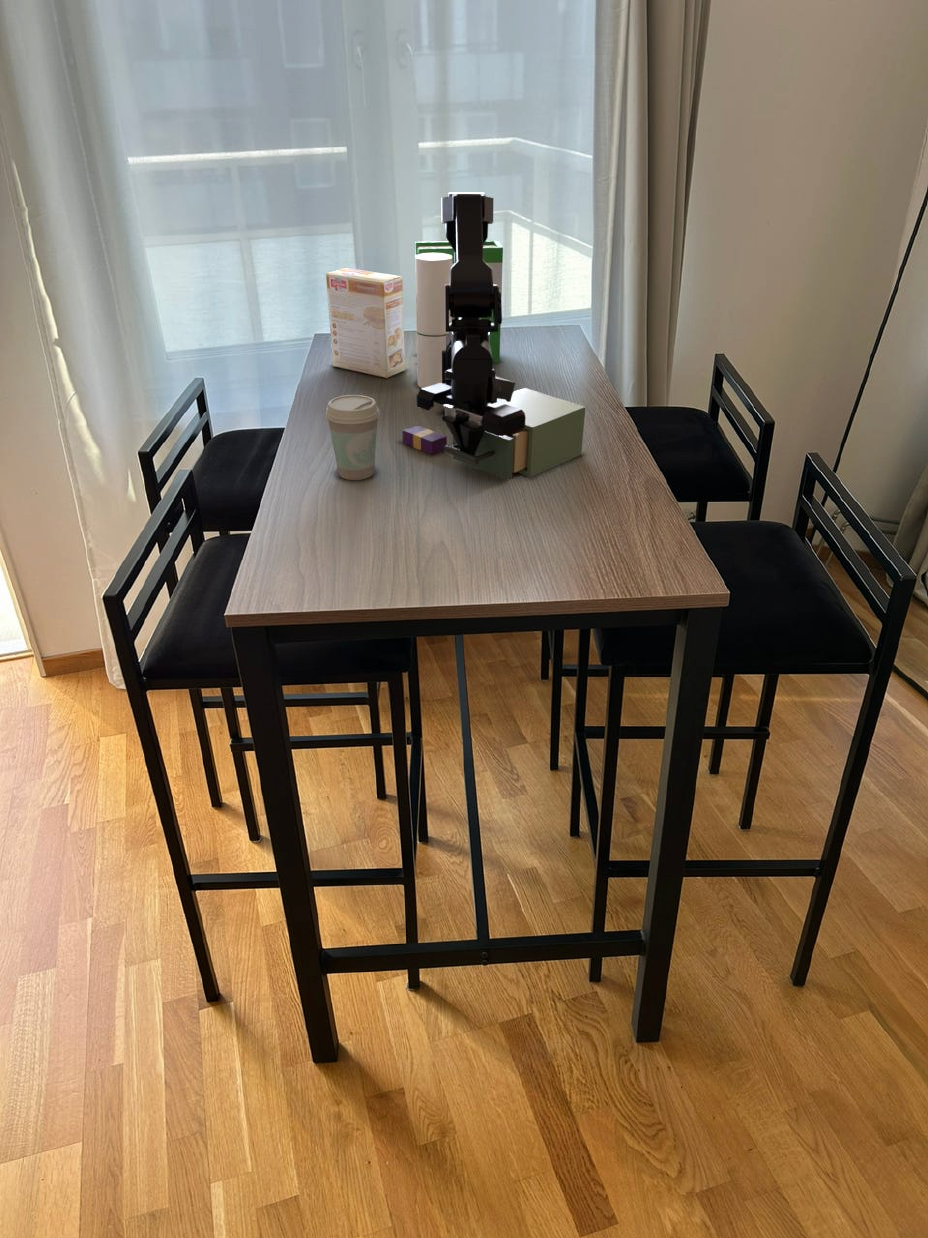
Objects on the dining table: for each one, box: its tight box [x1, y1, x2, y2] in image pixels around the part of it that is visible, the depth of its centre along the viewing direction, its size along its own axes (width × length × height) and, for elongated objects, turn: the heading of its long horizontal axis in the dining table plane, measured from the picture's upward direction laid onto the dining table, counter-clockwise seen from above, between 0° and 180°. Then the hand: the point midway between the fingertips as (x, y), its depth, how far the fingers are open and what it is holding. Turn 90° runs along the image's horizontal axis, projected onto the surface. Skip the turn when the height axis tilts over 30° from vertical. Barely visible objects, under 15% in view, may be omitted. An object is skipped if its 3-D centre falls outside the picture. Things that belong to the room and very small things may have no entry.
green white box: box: [414, 240, 504, 364], centre depth 193 cm, size 18×7×24 cm, turn 98°
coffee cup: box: [325, 394, 381, 481], centre depth 143 cm, size 9×8×12 cm
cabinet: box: [488, 387, 586, 478], centre depth 151 cm, size 14×14×9 cm
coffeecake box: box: [325, 267, 406, 379], centre depth 187 cm, size 15×7×20 cm, turn 58°
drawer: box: [443, 429, 529, 481], centre depth 147 cm, size 17×12×7 cm
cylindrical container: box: [414, 253, 452, 389], centre depth 178 cm, size 7×7×25 cm
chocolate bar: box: [402, 424, 448, 455], centre depth 156 cm, size 8×4×2 cm, turn 46°
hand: (469, 459), depth 143 cm, fingers closed, pressing on drawer
